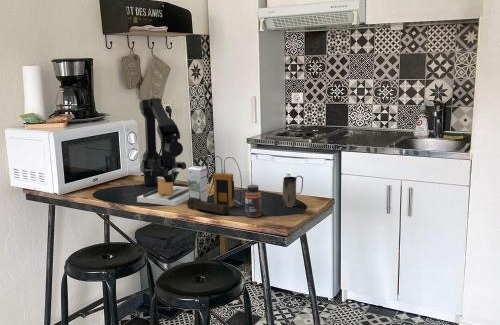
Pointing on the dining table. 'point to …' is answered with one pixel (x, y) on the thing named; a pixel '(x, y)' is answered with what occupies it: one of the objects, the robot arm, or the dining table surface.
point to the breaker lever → (165, 188)
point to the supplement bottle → (253, 201)
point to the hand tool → (207, 206)
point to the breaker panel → (166, 197)
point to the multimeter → (224, 187)
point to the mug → (290, 191)
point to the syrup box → (197, 182)
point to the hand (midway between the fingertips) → (170, 189)
